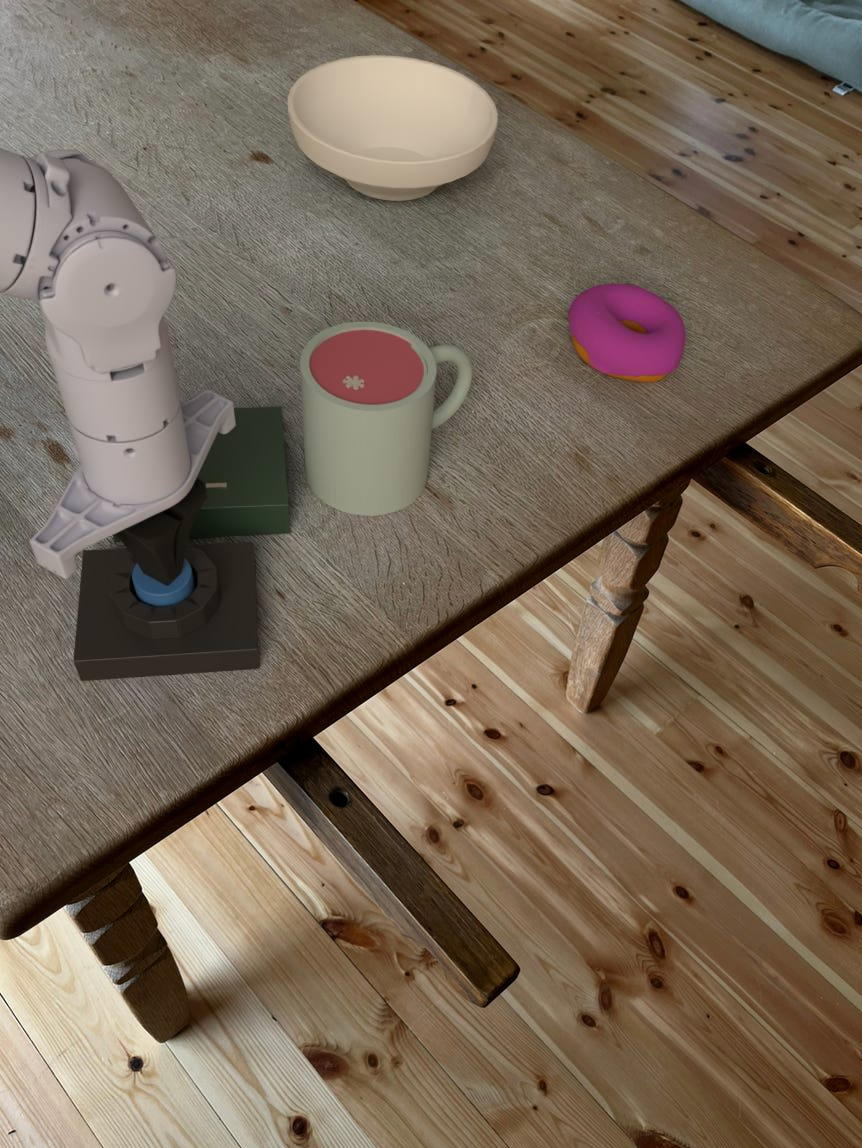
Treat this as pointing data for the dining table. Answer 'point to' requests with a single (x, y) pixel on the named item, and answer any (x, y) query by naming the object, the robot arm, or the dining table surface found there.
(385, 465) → the mug
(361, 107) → the bowl
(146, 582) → the plunger
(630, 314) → the donut
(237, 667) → the button block
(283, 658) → the dining table surface
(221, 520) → the panel
